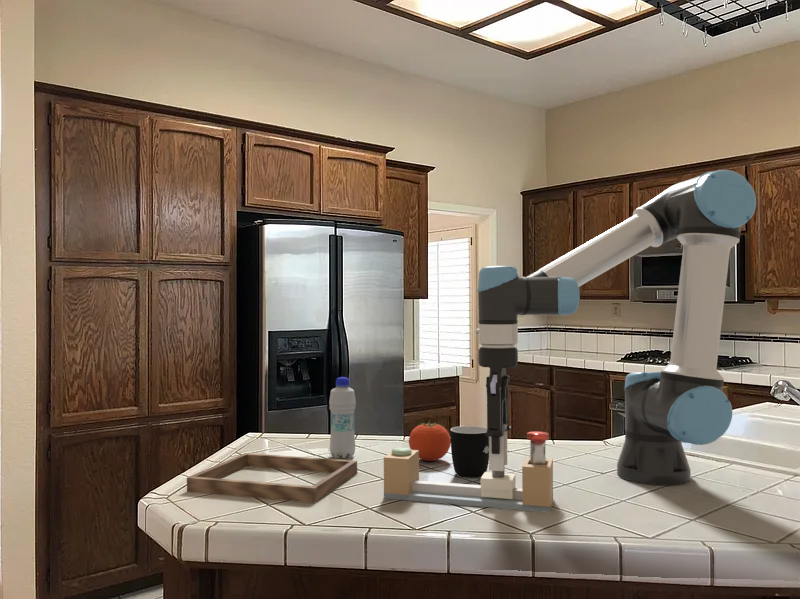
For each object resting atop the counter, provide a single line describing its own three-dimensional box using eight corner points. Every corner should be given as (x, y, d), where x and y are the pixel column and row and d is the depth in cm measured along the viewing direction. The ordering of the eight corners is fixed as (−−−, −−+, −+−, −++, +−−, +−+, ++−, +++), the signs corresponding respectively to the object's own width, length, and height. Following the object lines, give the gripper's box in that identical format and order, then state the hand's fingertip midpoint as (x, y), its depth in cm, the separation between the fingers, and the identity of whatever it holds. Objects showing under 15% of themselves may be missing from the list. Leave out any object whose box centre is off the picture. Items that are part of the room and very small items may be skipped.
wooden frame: (357, 473, 150) (357, 460, 150) (314, 502, 128) (314, 488, 128) (245, 464, 158) (245, 453, 158) (186, 491, 136) (186, 477, 136)
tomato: (459, 461, 161) (459, 420, 161) (425, 467, 155) (425, 424, 155) (433, 454, 169) (433, 414, 169) (400, 459, 163) (400, 418, 163)
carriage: (515, 492, 130) (515, 423, 130) (512, 499, 125) (512, 427, 125) (485, 490, 131) (484, 421, 131) (480, 497, 127) (480, 426, 127)
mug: (488, 481, 143) (487, 434, 143) (447, 478, 145) (446, 432, 145) (494, 468, 154) (494, 424, 155) (456, 465, 157) (456, 422, 157)
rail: (553, 499, 129) (552, 454, 129) (550, 512, 121) (549, 464, 121) (395, 487, 138) (395, 445, 138) (383, 498, 131) (383, 453, 131)
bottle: (361, 455, 167) (361, 376, 168) (345, 461, 162) (344, 379, 162) (340, 452, 171) (339, 375, 171) (323, 457, 165) (323, 377, 165)
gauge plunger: (549, 479, 127) (549, 432, 127) (548, 484, 123) (547, 436, 124) (528, 477, 128) (528, 431, 129) (526, 482, 125) (526, 434, 125)
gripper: (485, 343, 138) (486, 456, 138) (470, 348, 121) (470, 477, 121) (522, 343, 136) (523, 458, 135) (511, 349, 119) (512, 480, 119)
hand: (498, 466), depth 128 cm, fingers open, 4 cm apart
